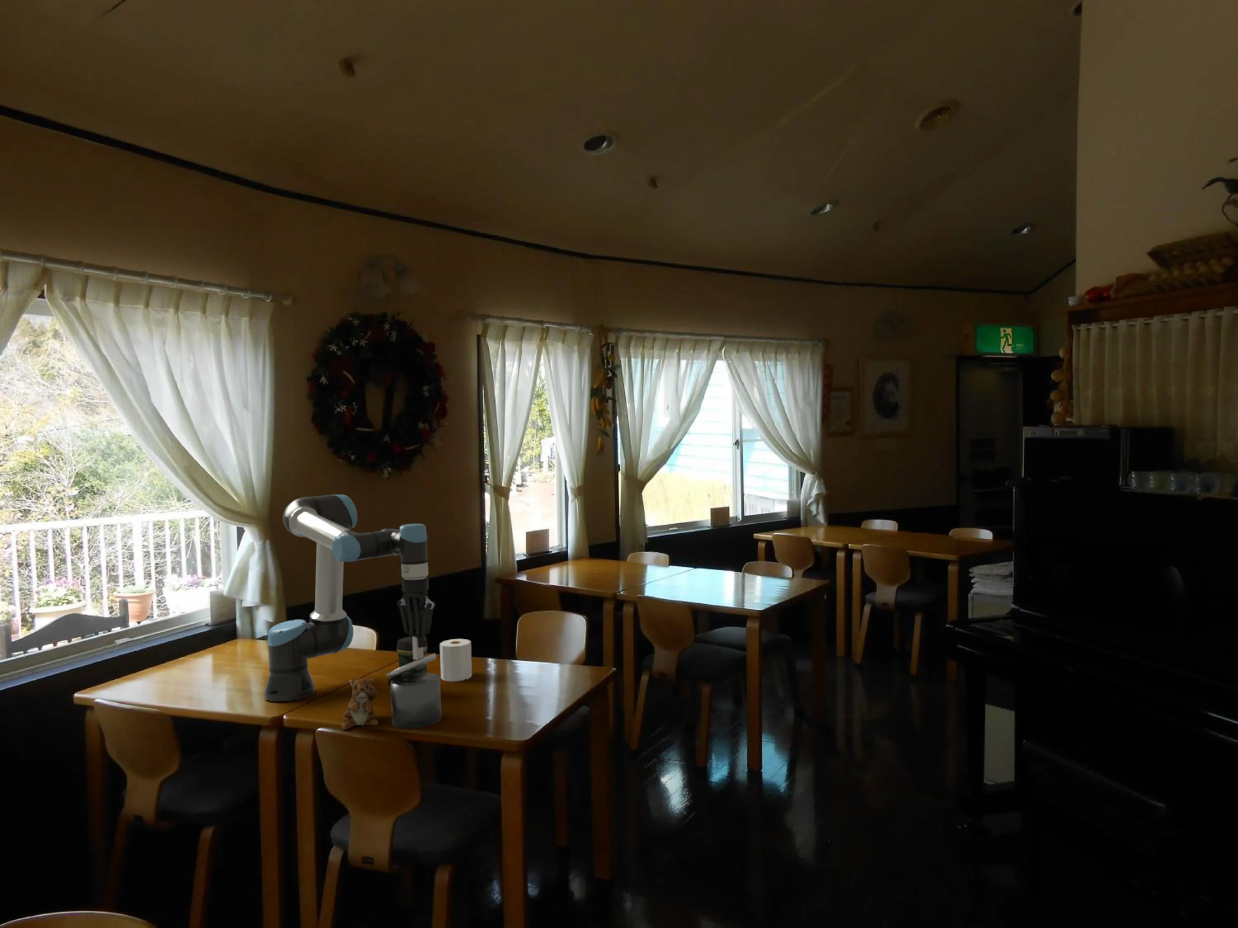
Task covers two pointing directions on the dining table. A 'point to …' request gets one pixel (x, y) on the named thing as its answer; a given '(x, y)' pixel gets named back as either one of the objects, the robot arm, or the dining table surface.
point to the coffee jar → (409, 655)
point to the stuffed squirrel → (360, 705)
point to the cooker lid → (411, 666)
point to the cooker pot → (415, 700)
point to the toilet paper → (455, 660)
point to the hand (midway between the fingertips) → (418, 658)
